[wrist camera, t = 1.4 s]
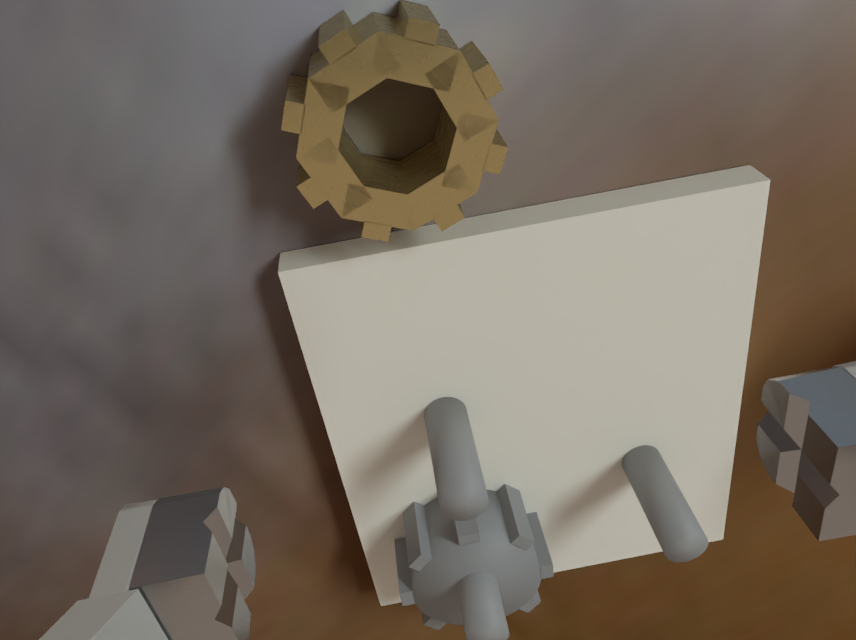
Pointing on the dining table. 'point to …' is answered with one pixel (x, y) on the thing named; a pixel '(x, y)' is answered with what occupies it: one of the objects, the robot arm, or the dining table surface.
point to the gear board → (534, 386)
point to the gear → (425, 168)
